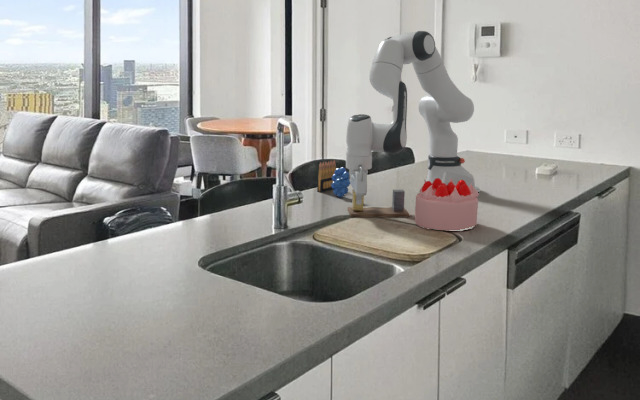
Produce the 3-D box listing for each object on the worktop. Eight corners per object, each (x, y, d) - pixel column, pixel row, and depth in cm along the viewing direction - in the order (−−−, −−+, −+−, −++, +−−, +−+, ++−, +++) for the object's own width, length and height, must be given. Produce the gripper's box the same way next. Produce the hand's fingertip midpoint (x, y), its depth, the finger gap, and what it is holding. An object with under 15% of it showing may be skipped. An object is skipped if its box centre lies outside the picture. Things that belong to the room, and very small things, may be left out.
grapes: (358, 199, 247) (358, 168, 245) (343, 200, 244) (343, 169, 241) (341, 193, 257) (342, 163, 254) (327, 195, 254) (327, 164, 251)
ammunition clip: (320, 192, 259) (320, 162, 257) (317, 191, 260) (317, 162, 258) (337, 188, 267) (337, 159, 265) (333, 188, 268) (334, 159, 266)
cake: (413, 216, 220) (415, 175, 217) (473, 218, 219) (475, 177, 216) (416, 231, 201) (418, 186, 198) (481, 233, 200) (484, 188, 197)
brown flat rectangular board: (403, 209, 230) (403, 206, 230) (409, 216, 220) (409, 213, 219) (347, 209, 229) (347, 206, 229) (350, 217, 219) (350, 213, 218)
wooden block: (362, 208, 226) (362, 189, 224) (363, 210, 222) (363, 191, 221) (352, 208, 226) (352, 189, 224) (353, 210, 222) (353, 191, 221)
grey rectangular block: (402, 209, 227) (402, 189, 225) (403, 211, 223) (404, 191, 222) (392, 209, 226) (392, 189, 225) (393, 211, 223) (394, 191, 221)
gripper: (372, 168, 211) (370, 209, 213) (364, 158, 231) (363, 196, 233) (352, 168, 210) (351, 209, 213) (346, 158, 230) (346, 196, 233)
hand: (357, 202), depth 223 cm, fingers closed on wooden block, 3 cm apart
